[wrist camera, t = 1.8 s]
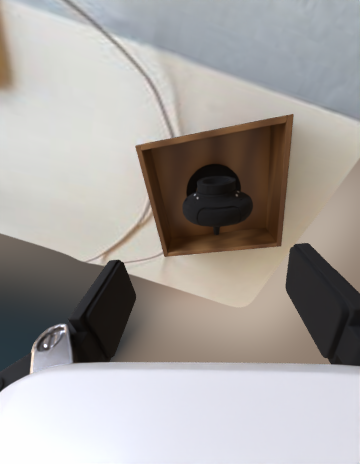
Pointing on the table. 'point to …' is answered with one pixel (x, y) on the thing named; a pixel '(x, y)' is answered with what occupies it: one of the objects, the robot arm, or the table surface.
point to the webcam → (216, 198)
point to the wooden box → (237, 159)
